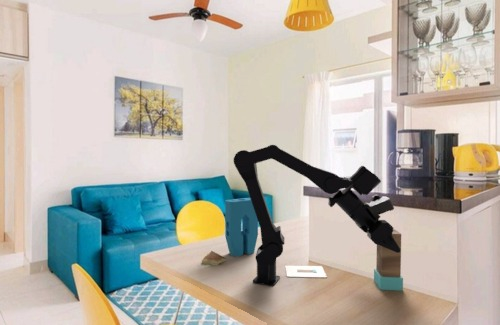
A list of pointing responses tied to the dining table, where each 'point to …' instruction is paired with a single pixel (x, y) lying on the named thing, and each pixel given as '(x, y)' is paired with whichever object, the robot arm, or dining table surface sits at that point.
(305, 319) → the dining table surface
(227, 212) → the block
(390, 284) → the teal base block
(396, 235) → the walnut brick
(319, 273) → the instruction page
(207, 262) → the shard
